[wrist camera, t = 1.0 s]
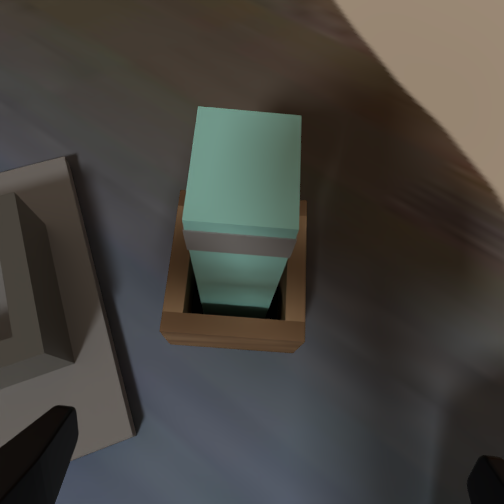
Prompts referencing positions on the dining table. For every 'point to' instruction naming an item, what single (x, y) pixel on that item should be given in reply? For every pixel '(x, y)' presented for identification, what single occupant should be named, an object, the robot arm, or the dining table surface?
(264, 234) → the plug
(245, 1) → the dining table surface
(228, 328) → the holster
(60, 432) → the robot arm
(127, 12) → the dining table surface
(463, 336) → the dining table surface
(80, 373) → the port board
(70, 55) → the dining table surface
